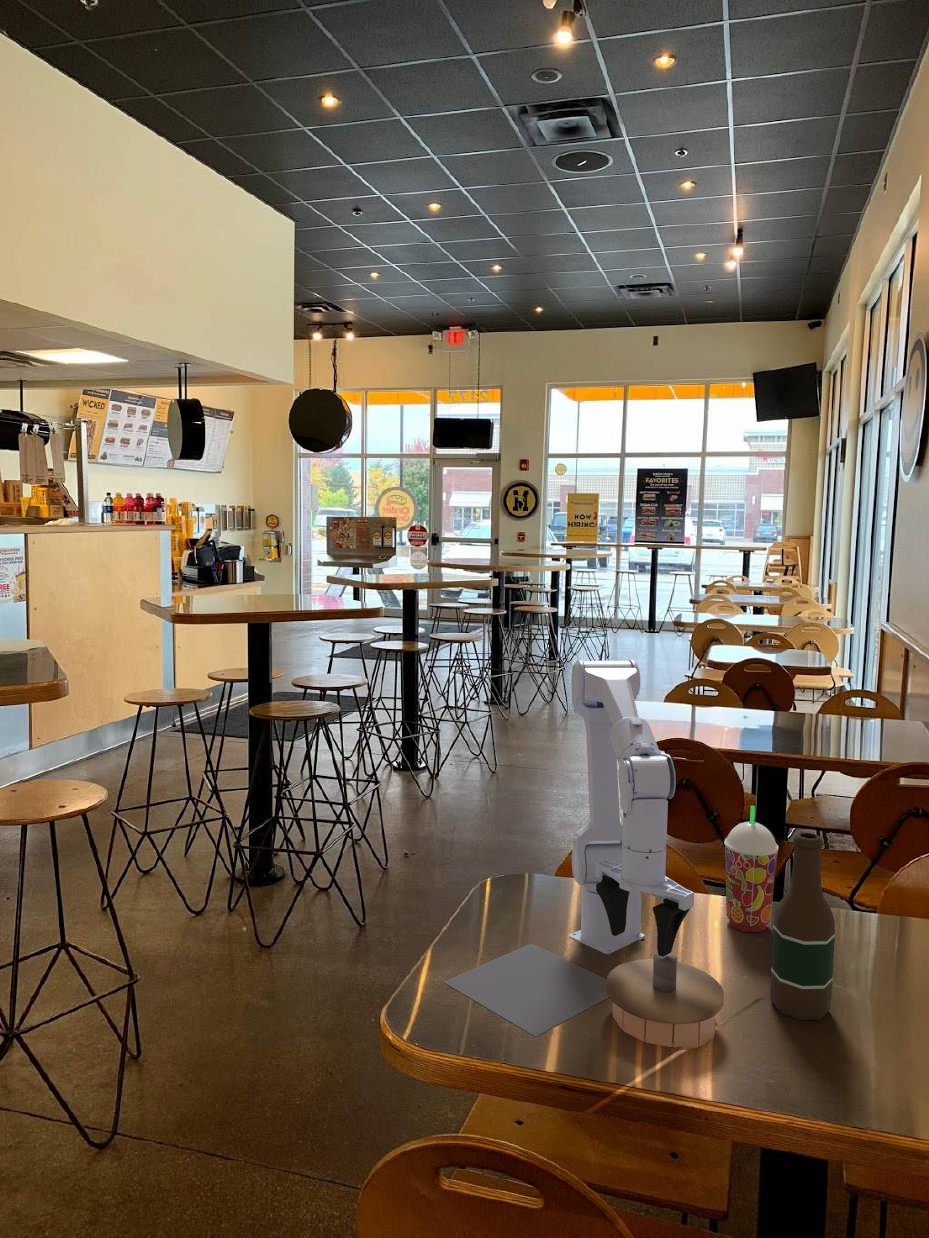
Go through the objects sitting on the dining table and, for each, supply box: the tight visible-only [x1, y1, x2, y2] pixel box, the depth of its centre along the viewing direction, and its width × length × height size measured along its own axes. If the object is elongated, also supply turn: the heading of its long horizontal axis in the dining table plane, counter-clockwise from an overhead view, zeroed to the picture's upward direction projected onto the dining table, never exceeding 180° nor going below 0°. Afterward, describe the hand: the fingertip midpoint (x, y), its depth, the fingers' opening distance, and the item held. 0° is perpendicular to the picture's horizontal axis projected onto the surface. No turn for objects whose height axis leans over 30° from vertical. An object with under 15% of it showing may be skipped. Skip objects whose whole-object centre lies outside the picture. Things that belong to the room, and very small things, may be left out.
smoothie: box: [723, 805, 779, 933], centre depth 145 cm, size 8×8×20 cm
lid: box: [606, 952, 725, 1024], centre depth 117 cm, size 15×15×5 cm
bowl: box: [612, 1001, 717, 1051], centre depth 118 cm, size 13×13×4 cm
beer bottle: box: [769, 831, 836, 1021], centre depth 120 cm, size 8×8×24 cm
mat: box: [443, 942, 610, 1038], centre depth 126 cm, size 18×18×1 cm
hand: (640, 943), depth 120 cm, fingers open, 7 cm apart
